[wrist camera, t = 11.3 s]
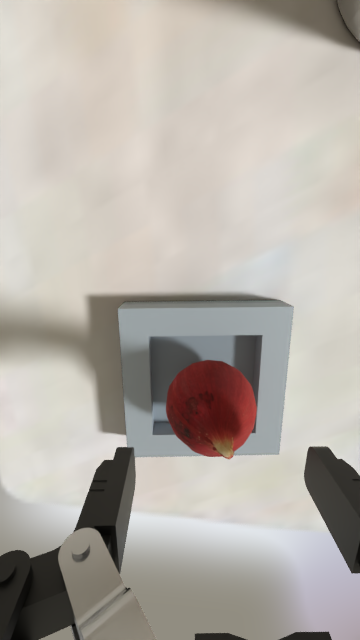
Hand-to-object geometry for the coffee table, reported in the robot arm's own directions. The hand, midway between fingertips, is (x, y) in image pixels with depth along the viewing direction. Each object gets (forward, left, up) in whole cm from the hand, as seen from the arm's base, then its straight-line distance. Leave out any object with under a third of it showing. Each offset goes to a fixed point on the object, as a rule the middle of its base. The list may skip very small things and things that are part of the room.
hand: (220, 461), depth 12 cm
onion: (0, 0, -9) cm, 9 cm away
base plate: (0, 0, -10) cm, 10 cm away
